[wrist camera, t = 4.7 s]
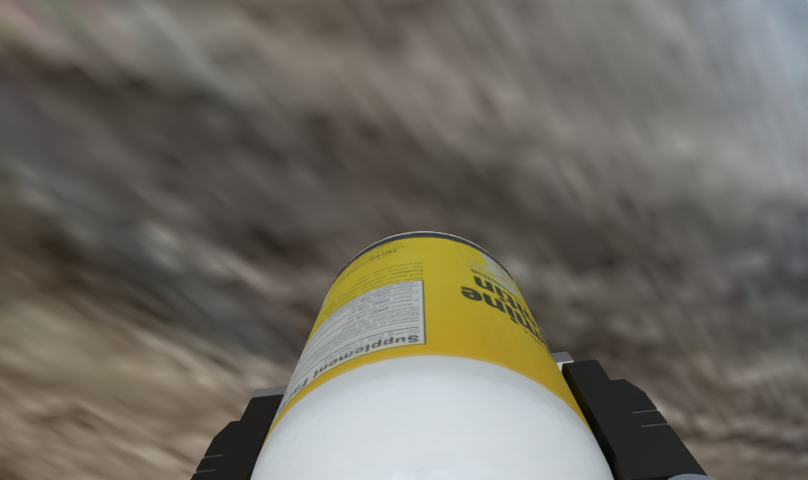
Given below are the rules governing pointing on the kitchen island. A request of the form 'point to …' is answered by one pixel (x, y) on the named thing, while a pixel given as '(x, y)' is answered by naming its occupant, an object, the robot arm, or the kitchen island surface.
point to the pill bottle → (427, 378)
